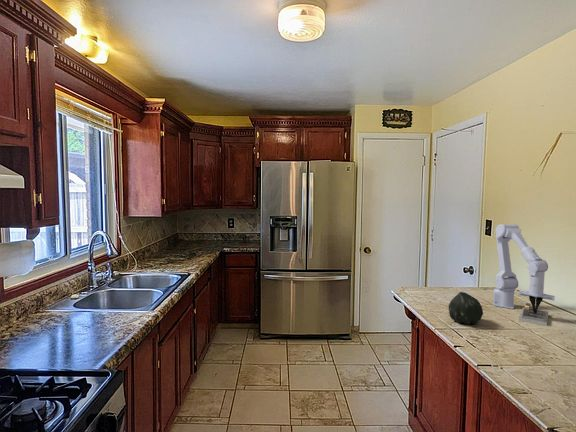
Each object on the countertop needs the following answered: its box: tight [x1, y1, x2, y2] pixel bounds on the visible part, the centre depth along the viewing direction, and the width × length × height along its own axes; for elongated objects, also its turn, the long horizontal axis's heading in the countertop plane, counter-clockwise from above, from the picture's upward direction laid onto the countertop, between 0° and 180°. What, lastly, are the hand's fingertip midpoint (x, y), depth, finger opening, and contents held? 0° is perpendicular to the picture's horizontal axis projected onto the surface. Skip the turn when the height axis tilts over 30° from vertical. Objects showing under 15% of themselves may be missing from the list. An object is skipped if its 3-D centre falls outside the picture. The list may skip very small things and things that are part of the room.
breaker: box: [523, 307, 529, 316], centre depth 179 cm, size 2×2×3 cm
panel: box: [518, 307, 549, 327], centre depth 182 cm, size 11×19×2 cm, turn 143°
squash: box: [448, 291, 484, 325], centre depth 175 cm, size 14×15×15 cm
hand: (535, 312), depth 181 cm, fingers closed
